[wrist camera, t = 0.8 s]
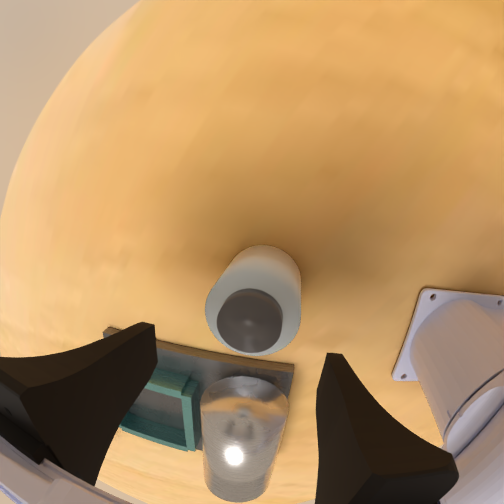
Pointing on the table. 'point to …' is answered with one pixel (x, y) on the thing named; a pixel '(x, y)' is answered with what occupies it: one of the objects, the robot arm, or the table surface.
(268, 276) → the grey capped cylinder
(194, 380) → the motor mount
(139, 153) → the table surface
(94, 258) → the table surface
